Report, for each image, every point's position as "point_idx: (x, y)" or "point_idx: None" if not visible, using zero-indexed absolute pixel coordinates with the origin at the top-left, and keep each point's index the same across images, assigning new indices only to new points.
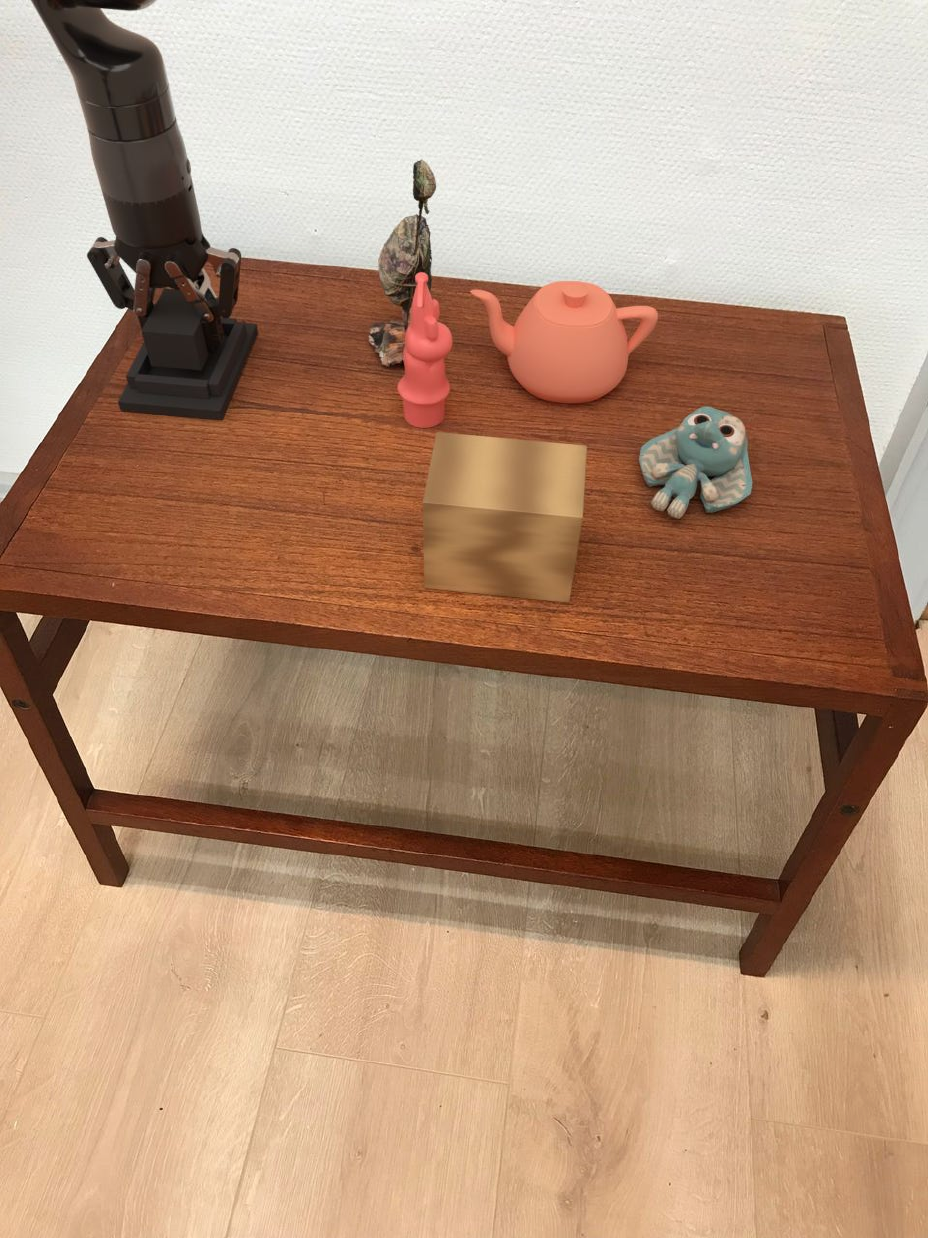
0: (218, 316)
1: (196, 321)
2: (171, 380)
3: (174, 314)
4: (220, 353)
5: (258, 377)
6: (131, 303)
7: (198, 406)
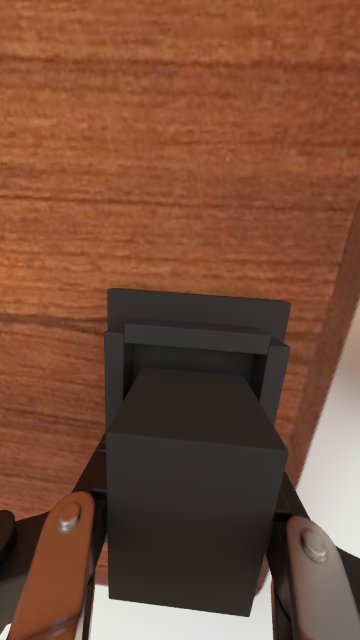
0: (45, 515)
1: (117, 494)
2: (196, 338)
3: (193, 523)
4: None
5: (91, 386)
6: (355, 587)
7: (146, 297)
